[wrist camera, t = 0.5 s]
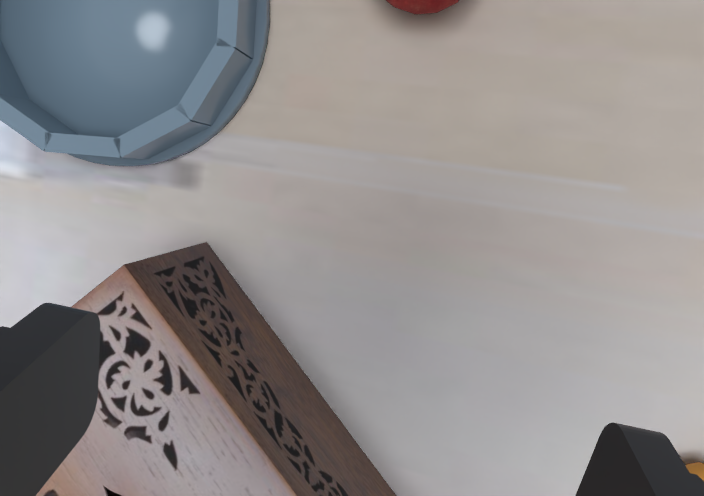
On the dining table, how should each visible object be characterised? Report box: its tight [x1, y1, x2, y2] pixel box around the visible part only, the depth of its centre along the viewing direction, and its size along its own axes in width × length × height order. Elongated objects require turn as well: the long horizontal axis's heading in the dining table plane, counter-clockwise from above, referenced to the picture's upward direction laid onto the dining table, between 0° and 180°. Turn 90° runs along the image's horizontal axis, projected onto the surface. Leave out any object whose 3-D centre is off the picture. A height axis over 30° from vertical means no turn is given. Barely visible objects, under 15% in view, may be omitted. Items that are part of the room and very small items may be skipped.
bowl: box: [0, 0, 270, 166], centre depth 33 cm, size 17×17×4 cm
